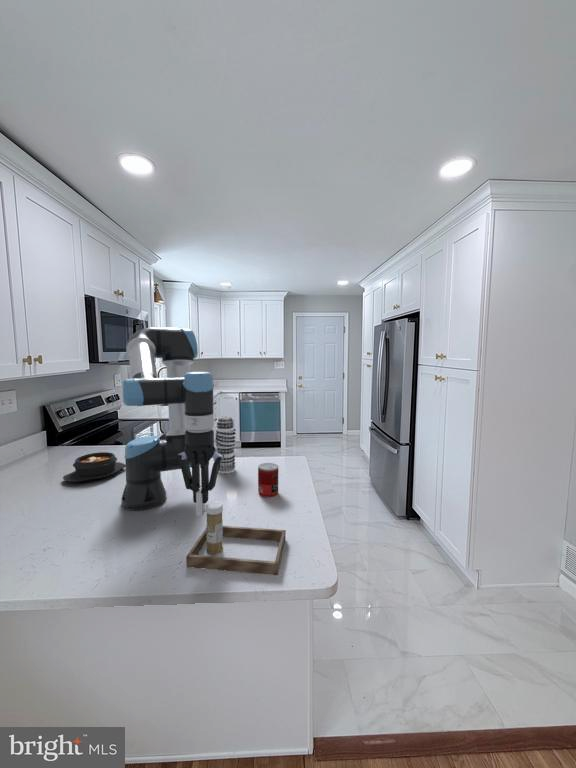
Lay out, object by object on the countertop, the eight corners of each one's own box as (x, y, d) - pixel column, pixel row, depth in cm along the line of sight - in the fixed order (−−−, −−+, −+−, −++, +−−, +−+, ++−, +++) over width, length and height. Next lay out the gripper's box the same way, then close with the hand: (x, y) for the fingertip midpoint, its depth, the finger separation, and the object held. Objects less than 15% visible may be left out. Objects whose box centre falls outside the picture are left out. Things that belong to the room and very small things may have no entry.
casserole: (77, 490, 131) (76, 469, 130) (54, 480, 141) (53, 461, 140) (134, 471, 152) (134, 453, 151) (111, 463, 162) (111, 447, 161)
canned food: (275, 498, 125) (275, 470, 123) (255, 496, 126) (255, 468, 125) (280, 490, 132) (280, 463, 131) (261, 488, 134) (261, 462, 133)
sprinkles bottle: (203, 551, 91) (202, 504, 90) (216, 543, 95) (215, 499, 93) (213, 557, 88) (212, 509, 87) (226, 550, 92) (226, 503, 90)
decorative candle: (237, 472, 151) (237, 418, 149) (217, 474, 148) (216, 420, 145) (233, 466, 160) (233, 415, 157) (214, 468, 156) (213, 416, 154)
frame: (186, 567, 84) (186, 556, 84) (208, 534, 100) (208, 524, 99) (277, 575, 82) (277, 563, 81) (285, 539, 97) (285, 530, 97)
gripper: (169, 431, 86) (172, 518, 88) (218, 433, 84) (219, 522, 86) (182, 425, 93) (184, 505, 95) (227, 427, 91) (228, 508, 94)
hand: (201, 513), depth 91 cm, fingers closed
